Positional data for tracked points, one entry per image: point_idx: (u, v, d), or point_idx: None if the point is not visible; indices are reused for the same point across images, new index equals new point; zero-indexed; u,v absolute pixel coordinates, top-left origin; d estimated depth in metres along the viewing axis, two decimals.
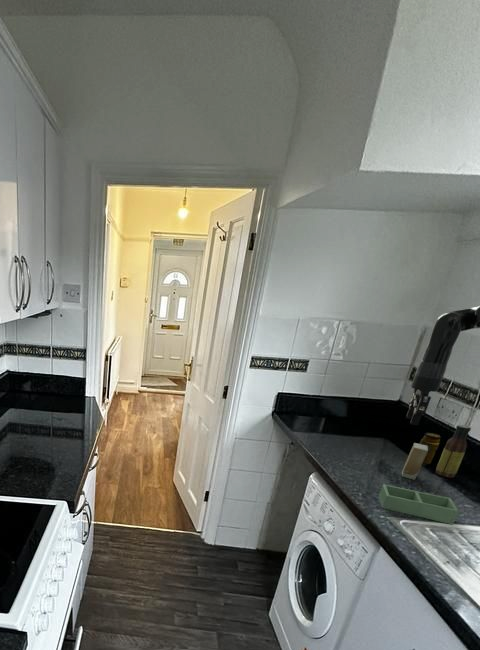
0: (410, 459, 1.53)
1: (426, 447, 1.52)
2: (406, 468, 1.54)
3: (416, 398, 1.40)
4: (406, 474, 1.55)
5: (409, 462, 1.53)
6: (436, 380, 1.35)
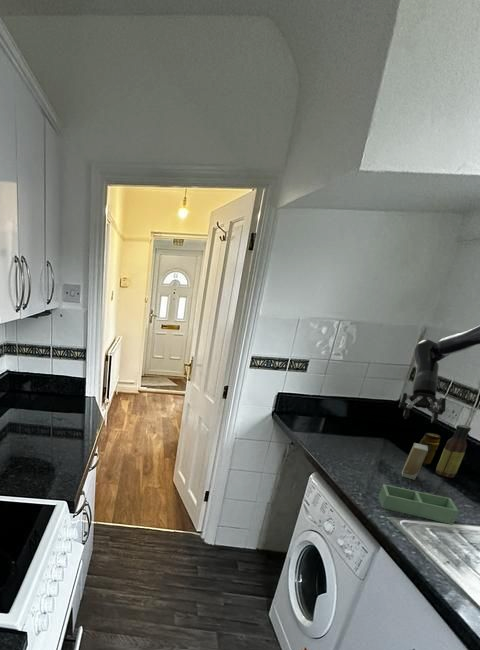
0: (410, 459, 1.53)
1: (426, 447, 1.52)
2: (406, 468, 1.54)
3: None
4: (406, 474, 1.55)
5: (409, 462, 1.53)
6: (416, 382, 1.63)
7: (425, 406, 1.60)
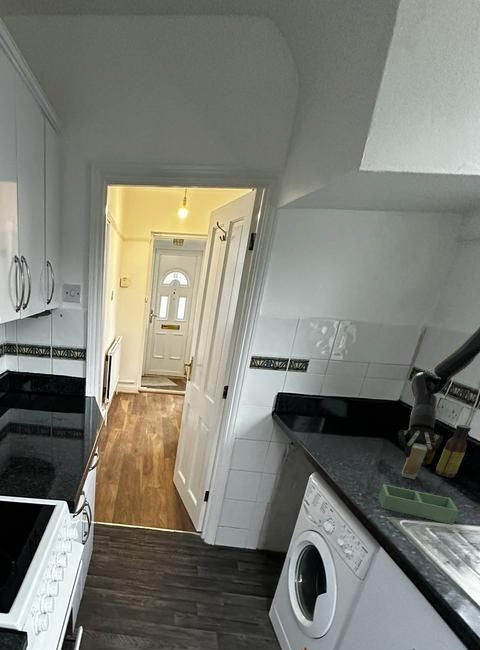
0: (410, 459, 1.53)
1: (425, 447, 1.52)
2: (406, 467, 1.54)
3: None
4: (406, 474, 1.55)
5: (409, 462, 1.53)
6: (413, 416, 1.57)
7: (423, 441, 1.54)
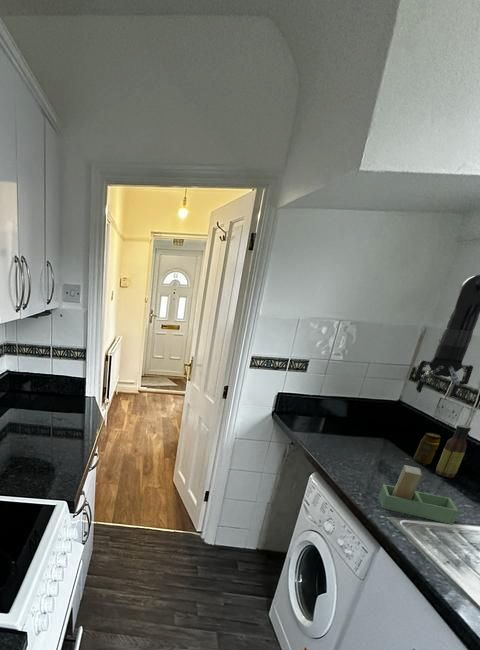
0: (401, 485, 1.29)
1: (419, 470, 1.28)
2: (397, 495, 1.31)
3: None
4: None
5: (400, 488, 1.30)
6: (440, 346, 1.31)
7: None
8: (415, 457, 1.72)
